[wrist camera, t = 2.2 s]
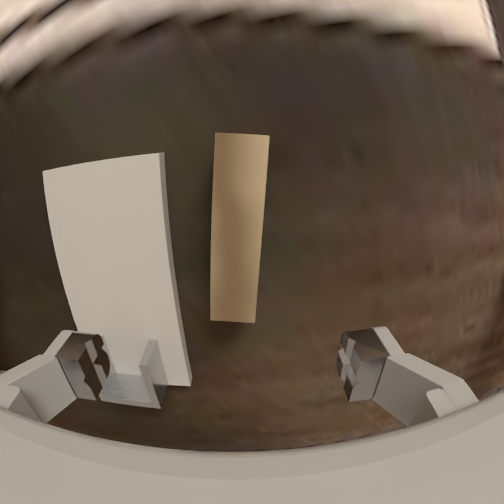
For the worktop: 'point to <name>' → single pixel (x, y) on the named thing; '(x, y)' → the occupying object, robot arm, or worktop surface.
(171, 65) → the worktop surface
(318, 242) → the worktop surface
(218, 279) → the rail
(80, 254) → the bracket
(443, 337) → the worktop surface
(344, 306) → the worktop surface
